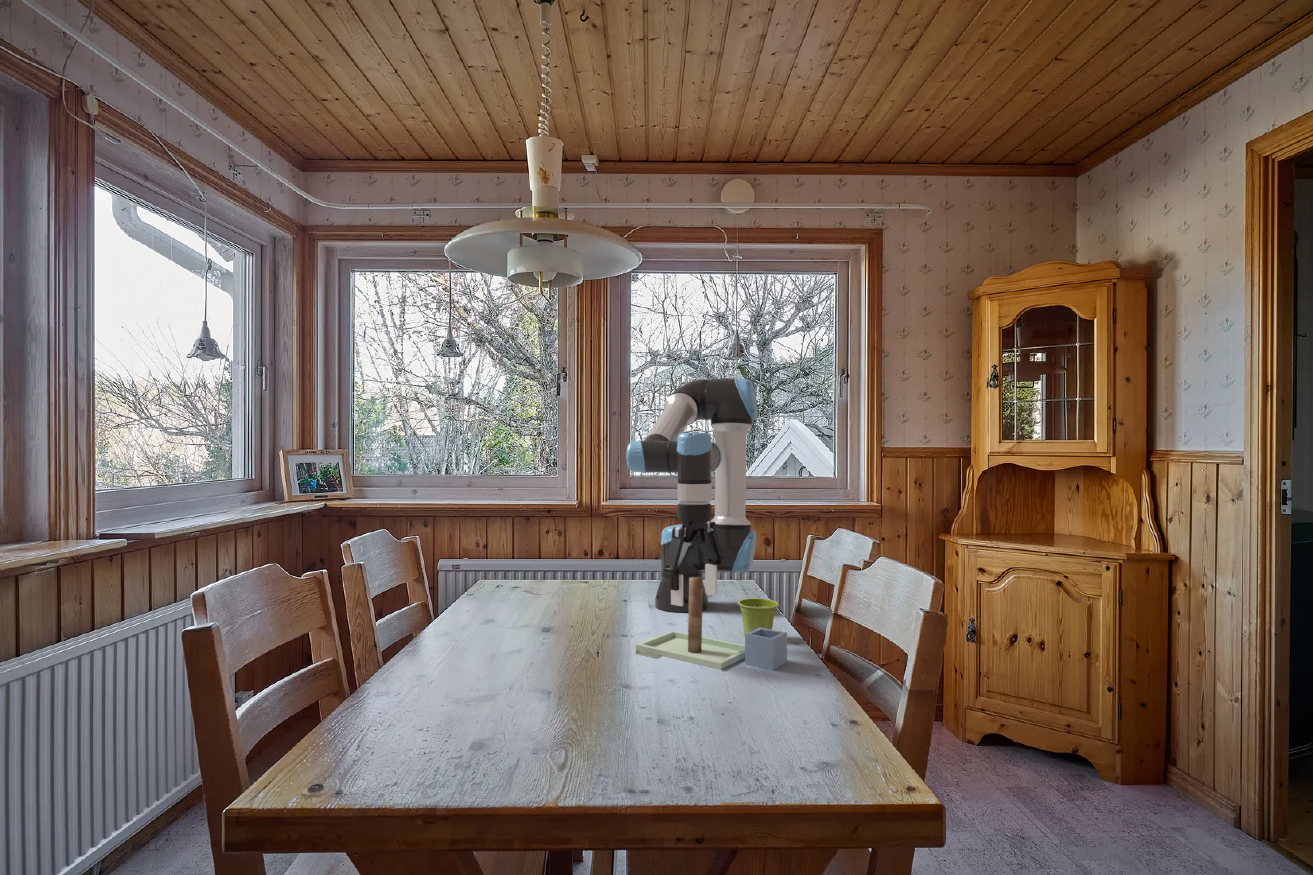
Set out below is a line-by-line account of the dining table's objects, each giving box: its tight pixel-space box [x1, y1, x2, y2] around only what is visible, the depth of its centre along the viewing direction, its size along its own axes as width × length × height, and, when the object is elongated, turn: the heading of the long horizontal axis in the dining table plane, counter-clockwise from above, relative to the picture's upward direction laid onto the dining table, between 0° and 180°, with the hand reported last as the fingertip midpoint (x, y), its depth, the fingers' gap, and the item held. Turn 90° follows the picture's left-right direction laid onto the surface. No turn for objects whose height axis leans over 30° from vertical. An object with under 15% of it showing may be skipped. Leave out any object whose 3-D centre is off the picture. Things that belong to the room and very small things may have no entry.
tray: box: [635, 630, 745, 670], centre depth 153 cm, size 14×22×2 cm, turn 53°
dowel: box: [687, 577, 704, 653], centre depth 153 cm, size 3×3×16 cm
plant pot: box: [737, 597, 779, 636], centre depth 165 cm, size 9×9×9 cm
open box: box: [744, 628, 788, 672], centre depth 144 cm, size 6×6×7 cm
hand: (694, 599), depth 153 cm, fingers open, 13 cm apart
